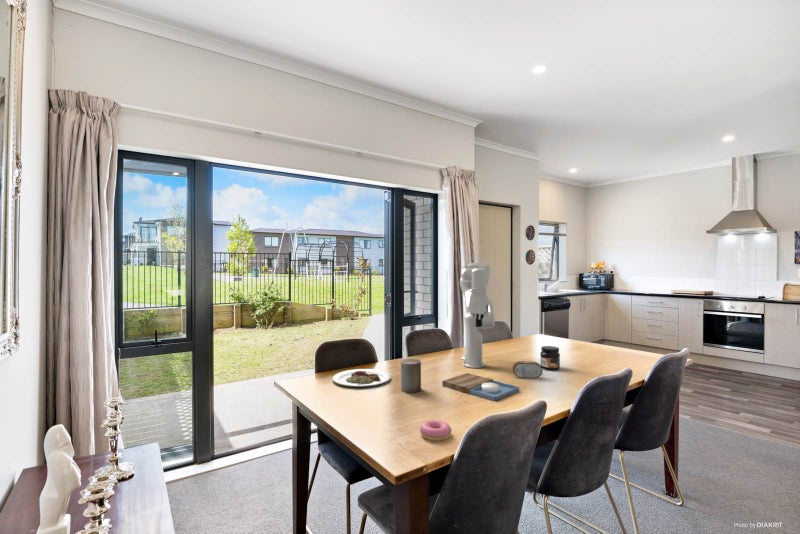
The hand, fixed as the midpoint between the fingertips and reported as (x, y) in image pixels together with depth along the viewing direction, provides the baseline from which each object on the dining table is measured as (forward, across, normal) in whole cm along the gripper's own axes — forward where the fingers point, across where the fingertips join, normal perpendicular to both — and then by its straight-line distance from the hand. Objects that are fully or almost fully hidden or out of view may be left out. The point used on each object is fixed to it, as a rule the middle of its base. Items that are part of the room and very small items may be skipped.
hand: (478, 326), depth 205 cm
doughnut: (+27, +30, -69) cm, 80 cm away
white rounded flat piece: (+25, +17, -16) cm, 34 cm away
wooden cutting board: (+27, +4, -15) cm, 31 cm away
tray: (+27, +19, -15) cm, 36 cm away
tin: (+27, +18, +18) cm, 37 cm away
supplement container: (+27, +18, +44) cm, 55 cm away
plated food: (+27, -40, -47) cm, 68 cm away
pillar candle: (+27, -11, -40) cm, 50 cm away
